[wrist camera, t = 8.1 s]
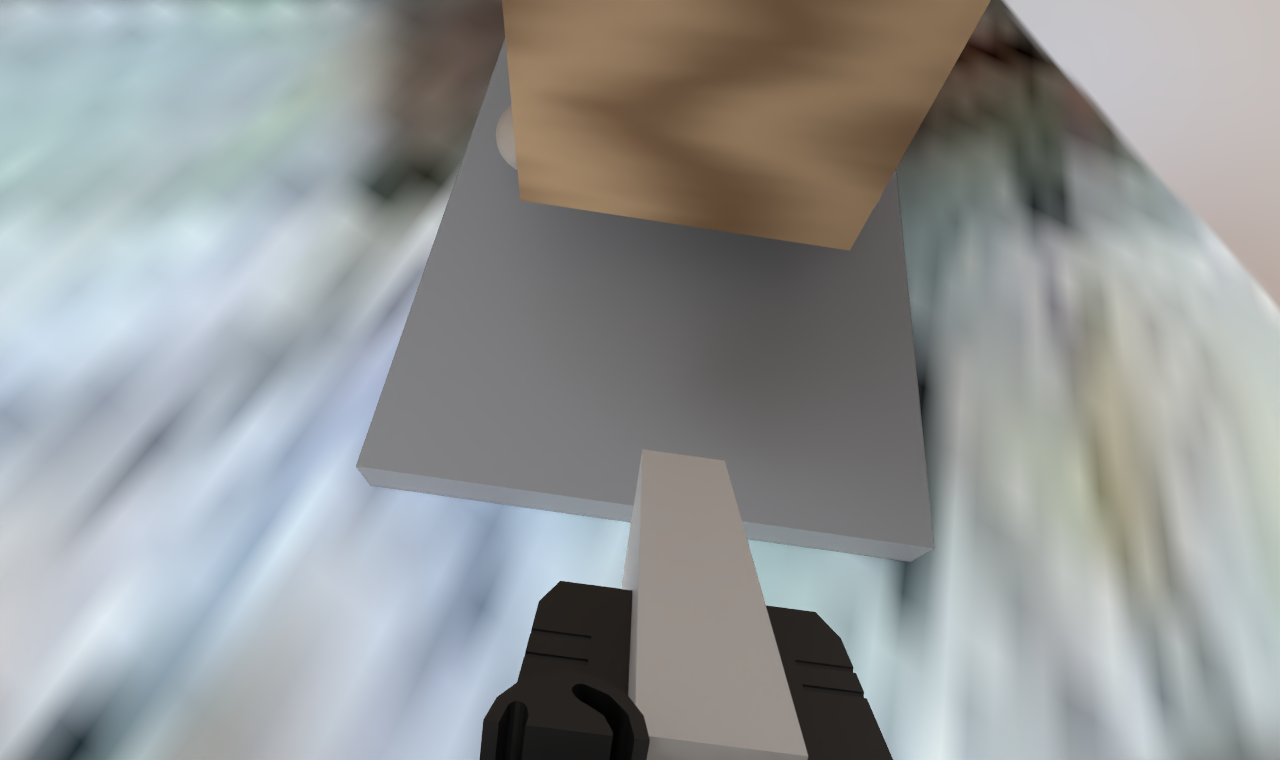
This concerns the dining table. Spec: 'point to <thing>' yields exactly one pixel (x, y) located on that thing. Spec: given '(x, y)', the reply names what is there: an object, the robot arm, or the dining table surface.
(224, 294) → the dining table surface
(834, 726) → the robot arm
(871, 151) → the oak block
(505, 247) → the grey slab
